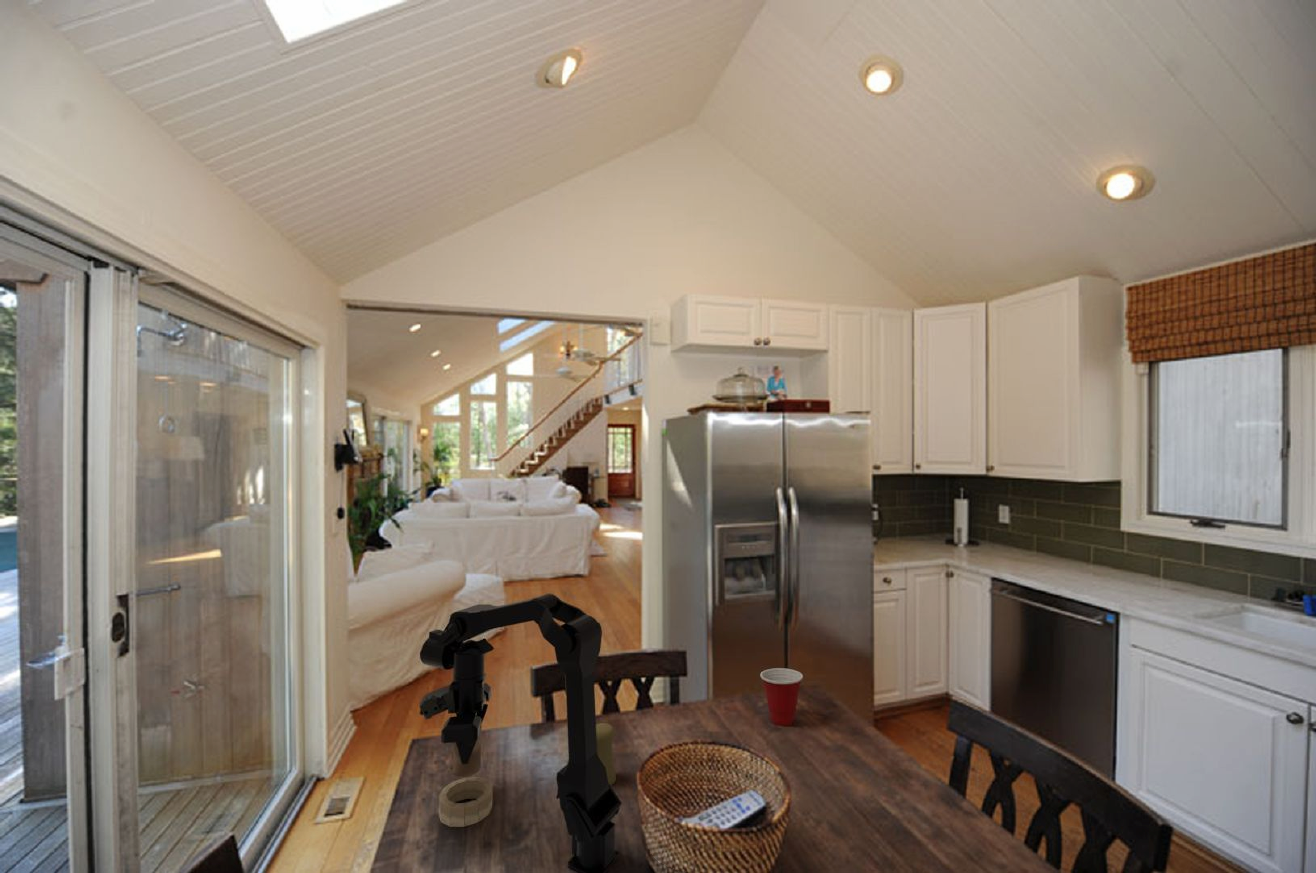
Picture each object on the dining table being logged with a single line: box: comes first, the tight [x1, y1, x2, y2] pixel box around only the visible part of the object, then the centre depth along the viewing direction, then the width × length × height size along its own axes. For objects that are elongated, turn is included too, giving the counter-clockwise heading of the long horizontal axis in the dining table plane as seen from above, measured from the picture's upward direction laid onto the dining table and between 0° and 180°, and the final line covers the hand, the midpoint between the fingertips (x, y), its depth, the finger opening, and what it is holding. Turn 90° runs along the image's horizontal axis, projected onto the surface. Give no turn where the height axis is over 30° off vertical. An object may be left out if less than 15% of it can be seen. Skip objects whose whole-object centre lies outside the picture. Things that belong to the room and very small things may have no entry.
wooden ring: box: [438, 776, 494, 828], centre depth 105 cm, size 9×9×4 cm
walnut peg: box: [452, 716, 483, 778], centre depth 105 cm, size 5×5×9 cm
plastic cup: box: [759, 667, 804, 727], centre depth 142 cm, size 11×11×12 cm
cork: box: [596, 722, 617, 787], centre depth 116 cm, size 6×6×11 cm
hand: (467, 755), depth 105 cm, fingers closed on walnut peg, 5 cm apart
